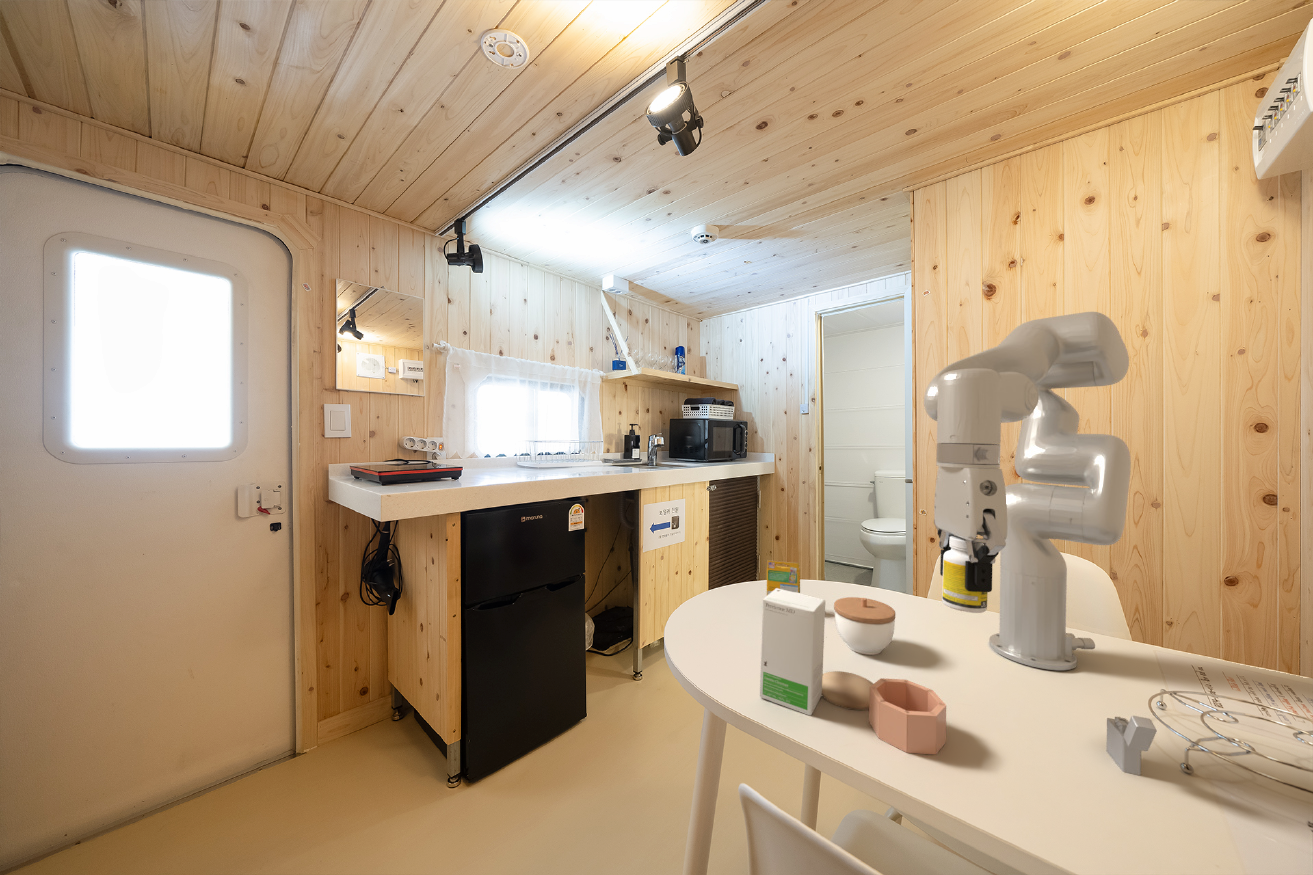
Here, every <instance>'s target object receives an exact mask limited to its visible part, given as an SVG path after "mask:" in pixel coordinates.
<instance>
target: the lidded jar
mask: <svg viewBox="0 0 1313 875" xmlns="http://www.w3.org/2000/svg"><path fill="white" fill-rule="evenodd" d="M833 609H834V622H835V628H836V630H837V633H838V635H839V637H840V639H841V640H842V642H844V644H846V646H847V648H848V649H849V650H851V651H852V652H855V653H858V654H861V655H868V656H875V655H879V654H881V652H882V651H883V650H885V649H886V648H887V647H889V645H890V643H891V642H892V639H893V636H894V632H895V623H896V621H895V620H896V610H895V609H894V608H892V606H890V605H888V604H887V603H884V602H882V601H879V600H876V599H870V598H866V597H858V596H857V597H856V596H849V597H842V598H839V599H836V600H835V602H834V604H833Z"/></svg>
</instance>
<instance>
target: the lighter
mask: <svg viewBox="0 0 1313 875" xmlns="http://www.w3.org/2000/svg"><path fill="white" fill-rule="evenodd" d="M1157 731H1158V730H1157V729H1156V726H1155V724H1154V722H1153V721H1152V719H1151V718H1149V717H1148V718H1147V717H1143V716H1138V715H1131V716H1130V718H1129V720H1128V719H1127V718H1124V717H1121V716H1114V718H1111V717H1110V718H1109V717H1107V718H1106V748H1105V749H1106V752H1107V754H1108V755H1109V757H1111V759H1112V760H1113V761H1114V763H1115V764H1116V765H1117V766H1118V768H1119V769H1120V770H1121V772H1124V773H1125V774H1126V773H1127V774H1131V775H1136V776H1138V777H1139V776H1141V772H1142V770H1141V769H1142V765H1141V764H1142V752H1148V751H1149V750H1150V747H1151V745H1152V743H1153V741H1154V739H1155V736H1156V735H1157Z"/></svg>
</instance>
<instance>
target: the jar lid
mask: <svg viewBox="0 0 1313 875" xmlns="http://www.w3.org/2000/svg"><path fill="white" fill-rule="evenodd" d="M873 684H874V683H873V682H872V681H870V680H869V679H868V678H865V677H863V676H861V675H859V674H856V673H852V672H847V671H840V670H839V671H838V670H837V671H834V670H833V671H827V672H824V673H823V677H822V696H821V697H823V698H824V699H825V700H826V701H827V702H829V703H832V704H833V705H836V706H839V707H840V708H844V709H849V710H854V711H859V710H860V711H863V710H865V711H866V710H869V688H870V686H871V685H873Z"/></svg>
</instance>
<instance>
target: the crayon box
mask: <svg viewBox="0 0 1313 875" xmlns="http://www.w3.org/2000/svg"><path fill="white" fill-rule="evenodd" d="M782 564H783V565H785V566H779V565H782ZM776 588H778V589H782V590H786V591H790V592H797V593H801V568H800V563H799V562H789V561H781V560H780V561H779V560H778V561H777V560H772V559H771V560H768V559H767V560H766V596H767V595H769V594H770V593H771V592H772V591H773V590H775V589H776Z"/></svg>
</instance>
